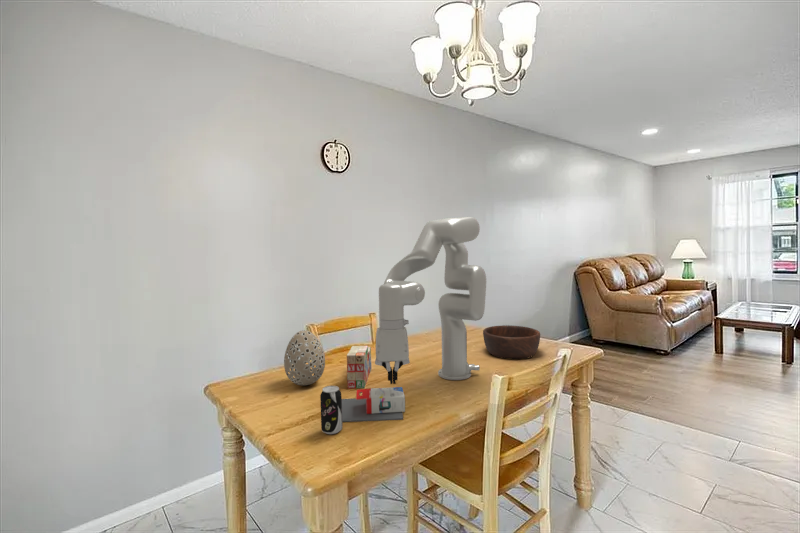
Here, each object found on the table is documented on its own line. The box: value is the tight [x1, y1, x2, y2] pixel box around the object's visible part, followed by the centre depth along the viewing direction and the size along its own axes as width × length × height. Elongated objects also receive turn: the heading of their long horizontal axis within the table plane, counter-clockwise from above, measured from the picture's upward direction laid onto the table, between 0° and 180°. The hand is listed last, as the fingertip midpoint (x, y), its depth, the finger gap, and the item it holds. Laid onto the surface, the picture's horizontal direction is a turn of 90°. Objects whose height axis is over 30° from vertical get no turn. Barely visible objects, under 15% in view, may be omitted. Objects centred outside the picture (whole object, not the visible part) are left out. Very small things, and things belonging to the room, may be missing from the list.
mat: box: [342, 397, 404, 423], centre depth 123 cm, size 20×16×1 cm
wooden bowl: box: [482, 324, 541, 360], centre depth 179 cm, size 25×25×10 cm
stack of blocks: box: [346, 345, 372, 389], centre depth 150 cm, size 21×6×12 cm, turn 178°
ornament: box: [283, 329, 326, 386], centre depth 145 cm, size 15×15×20 cm
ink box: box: [355, 386, 406, 414], centre depth 122 cm, size 8×5×15 cm
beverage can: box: [319, 385, 343, 435], centre depth 109 cm, size 6×6×12 cm
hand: (392, 382), depth 122 cm, fingers closed
